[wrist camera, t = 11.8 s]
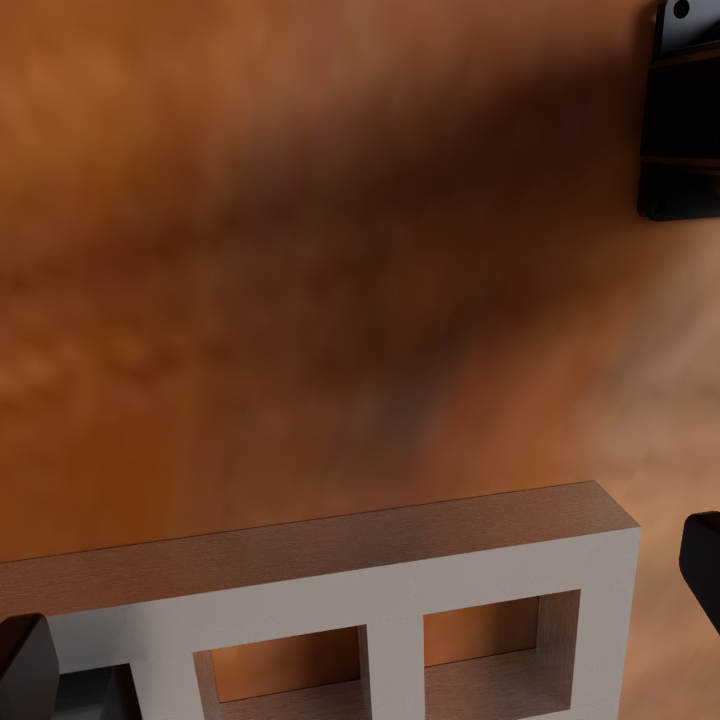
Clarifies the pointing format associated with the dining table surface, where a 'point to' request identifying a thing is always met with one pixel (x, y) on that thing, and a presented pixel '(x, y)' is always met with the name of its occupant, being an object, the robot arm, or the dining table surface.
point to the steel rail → (358, 607)
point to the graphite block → (97, 695)
